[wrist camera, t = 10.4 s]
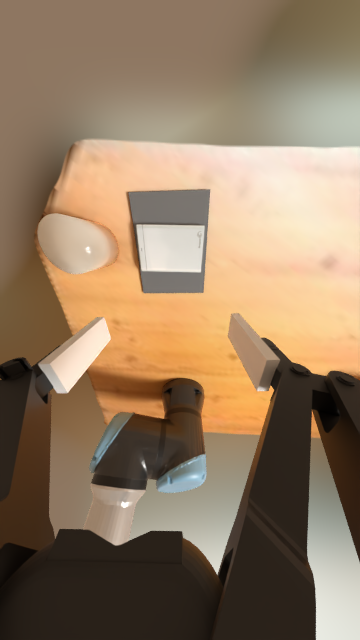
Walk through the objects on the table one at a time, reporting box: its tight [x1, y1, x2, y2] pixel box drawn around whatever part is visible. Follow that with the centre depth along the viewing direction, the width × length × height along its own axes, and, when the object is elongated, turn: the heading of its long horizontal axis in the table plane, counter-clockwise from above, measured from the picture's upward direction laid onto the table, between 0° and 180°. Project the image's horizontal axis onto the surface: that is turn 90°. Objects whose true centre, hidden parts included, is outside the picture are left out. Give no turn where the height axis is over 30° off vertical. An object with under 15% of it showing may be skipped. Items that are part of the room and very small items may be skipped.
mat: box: [128, 190, 210, 293], centre depth 28 cm, size 18×14×1 cm
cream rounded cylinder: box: [37, 213, 119, 274], centre depth 25 cm, size 8×8×9 cm
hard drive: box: [136, 224, 205, 273], centre depth 27 cm, size 2×8×12 cm
